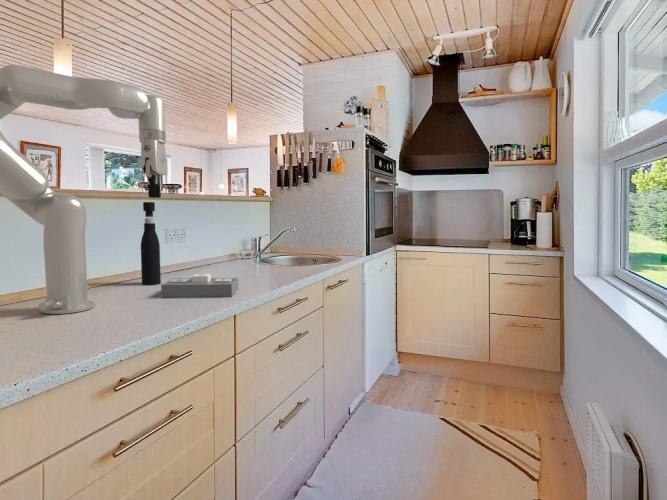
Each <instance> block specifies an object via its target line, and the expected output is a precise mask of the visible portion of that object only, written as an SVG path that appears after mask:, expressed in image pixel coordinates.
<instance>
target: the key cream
mask: <svg viewBox="0 0 667 500" xmlns="http://www.w3.org/2000/svg"><path fill="white" fill-rule="evenodd" d="M191 278H192V283H209V282H210V281H211V278H212V274H211V273H195V274H194V275H191Z"/></svg>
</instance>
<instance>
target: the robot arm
mask: <svg viewBox="0 0 667 500" xmlns="http://www.w3.org/2000/svg"><path fill="white" fill-rule="evenodd" d="M26 103H29V104H33V105H34V104H36V105H42V106H48V107H53V108H54V107H55V108H60V109H66V110H70V111H71V110H73V111H74V110H78V111H81V110H89V109H108V111H109V112H110V113H111V115H113V116H115V117H116V118H119V119H130V120H132V119H133V120H135V119H136V120H138V135H139V136H138V138H139V139H138V141H139V143H141V144H140V166H141V167H140V168H141V172H142V173H143V174H145V178H146V179H147V180H146V181H147V190H148V191H147V192H148V194H147V195H148V198H150V199H151V198H153V199H160V198H161V197H162V195H161V194H162V193H161V184H162V182H161V180H162V179H163V177H162V176H167V175H168V162H167V152H166V147H165V146H166V145H165V144H166V141H167V140H166V139H167V138H166V116H165V115H166V111H165V109H166V108H165V101H164V99H163V98H162V97H161V96H158V95H153V94H147V93H145V91H143V90H142V89H141V88H140V87H138V86H135V85H133V84H129V83H128V84H127V83H124V82H121V81H120V82H119V81H115V80H110V79H101V78H100V79H99V78H90V77H79V76H78V77H77V76H71V75H66V74H62V73H58V72H57V73H56V72H52V71H46V70H43V69H38V68H33V67H29V66H24V65H19V64H7V65H5V66H4V65H3V66H2V67H1V68H0V120H1V119H3V118H5V117H6V116H8V115H9V114H11V113H13V112H14V111H16V110H17V109H18V108H20V107H21V106H22V105H24V104H26ZM49 185H50V183H49V178H48V176H47V175H46V173H45V172H44V171H43V170H42V169H41V167H38V165H36V164H35V163H34V162H32V161H31V160H30V159H29V158H28V157H26V155H24V154H23V153H22V152H20V151H19V150H18V149H17V148H16V147H15V146H14V145H13V144H12V143H11V142H10V141H9V140H8V139H7V138H6V137H5V136H4V135H3V133H2V130H0V193H1V195H3V197H4V198H6V199H7V200H8V201H9V202H11V203H12V204H13V205H14V206H16V207H17V208H18V209H19V210H21V211H22V212H23V213H24V214H26V215H27V216H29V217H30V218H31V219H32V220H34V221H35V222H36V223H38V224H40V225H42V226H43V238H42V239H43V241H42V242H43V243H42V244H43V257H44V271H45V272H44V273H45V274H44V275H45V287H46V288H45V290H46V296H45V298H46V299H45V301H43V302H40V303H38V304H37V305H38V306H37V307H38V309H39V310H40V312H41V313H43V314H46V315H63V314H64V315H65V314H72V313H80V312H84V311H87V310H91V309H93V308H94V307H95V306H96V305H95V302H94V301H93V300H89V294H88V293H89V292H88V291H89V289H88V274H87V273H88V271H87V256H86V253H87V252H86V241H85V240H86V223H87V210H86V207H85V205H84V203H83V202H82V200H80V198H78V197H77V196H75V195H74V194H71V193H67V192H56V191H55V190H54V189H53V188H52V187H51V186H49Z"/></svg>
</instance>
